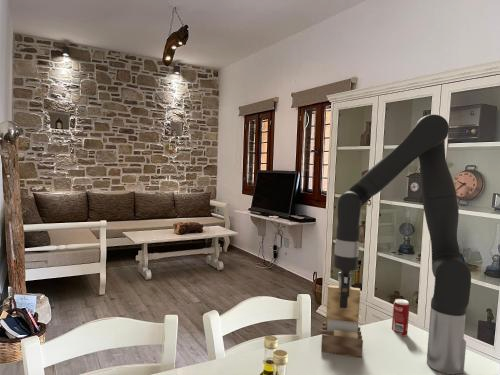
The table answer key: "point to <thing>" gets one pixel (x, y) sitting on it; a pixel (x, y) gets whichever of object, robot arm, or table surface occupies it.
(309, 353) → the table surface
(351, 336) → the offcut pine
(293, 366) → the table surface
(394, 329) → the soda can
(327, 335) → the rack
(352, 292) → the tall sheet
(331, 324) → the offcut grey
